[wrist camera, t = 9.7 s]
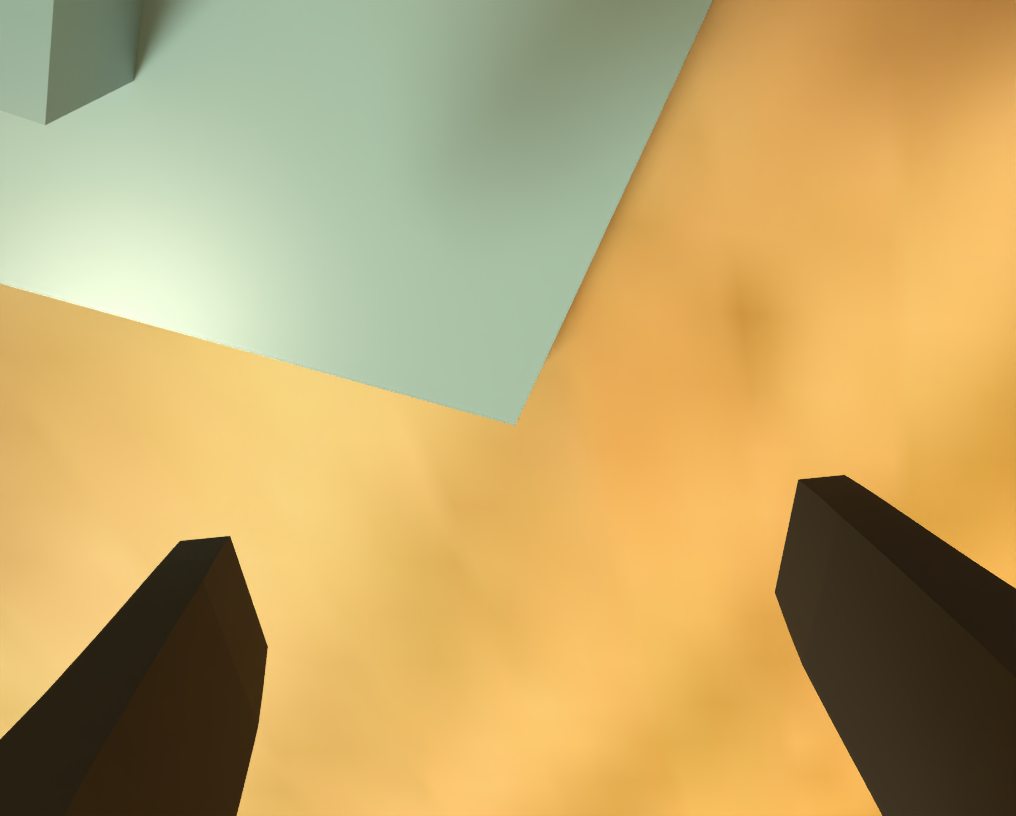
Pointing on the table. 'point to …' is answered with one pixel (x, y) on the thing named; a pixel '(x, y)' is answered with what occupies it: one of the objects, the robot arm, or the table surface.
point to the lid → (332, 172)
